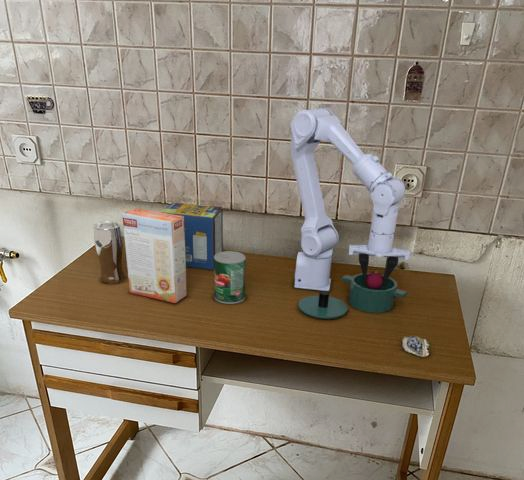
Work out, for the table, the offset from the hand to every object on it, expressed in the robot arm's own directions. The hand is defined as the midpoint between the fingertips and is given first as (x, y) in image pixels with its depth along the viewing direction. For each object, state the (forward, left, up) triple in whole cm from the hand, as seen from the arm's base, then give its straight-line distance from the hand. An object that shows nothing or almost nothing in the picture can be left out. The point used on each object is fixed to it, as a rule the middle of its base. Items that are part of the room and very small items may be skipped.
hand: (373, 283), depth 131 cm
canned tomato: (-36, -6, -6) cm, 37 cm away
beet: (0, 0, +1) cm, 1 cm away
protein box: (-52, +16, -6) cm, 55 cm away
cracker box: (-54, -9, -6) cm, 55 cm away
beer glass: (-69, -3, -6) cm, 69 cm away
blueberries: (+10, -21, -6) cm, 24 cm away
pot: (0, 0, -5) cm, 5 cm away
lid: (-12, -7, -5) cm, 15 cm away
